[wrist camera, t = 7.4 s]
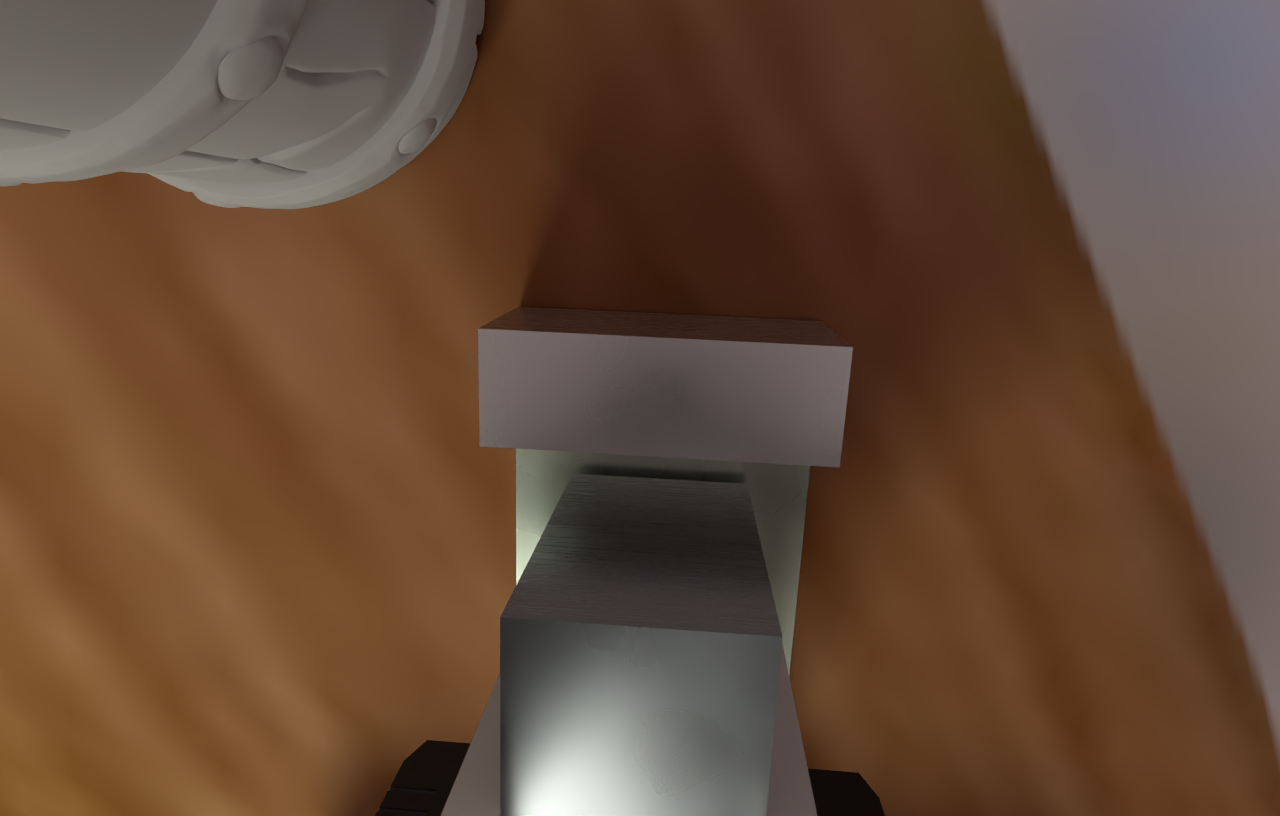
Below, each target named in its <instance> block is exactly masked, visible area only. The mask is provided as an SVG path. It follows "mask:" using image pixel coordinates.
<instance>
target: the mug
mask: <svg viewBox="0 0 1280 816" xmlns="http://www.w3.org/2000/svg"><path fill="white" fill-rule="evenodd" d="M484 15H485V0H0V186H15V185H20V184H22V183H23V182H25V183H44V182H52V181H75V180H81V179H87V178H92V177H96V176H101V175H106V174H111V173H115V172H119V171H124V172H134V173H148V174H150V175H152V176H154V177H156V178H158V179H160V180H162V181H164V182H166V183H168V184H170V185H172V186H174V187H177V188H179V189H181V190H183V191H186V192H193V193H194V195H195V196H196V197H197V198H198V199H199V200H201V201H203V202H205V203H208V204H211V205H216V206H221V207H226V208H239V207H242V206H245V207H255V208H266V209H299V208H307V207H312V206H317V205H322V204H327V203H331V202H335V201H338V200H342V199H345V198H348V197H350V196H353V195H355V194H358V193H360V192H362V191H364V190H366V189H369V188H371V187H372V186H374V185H376V184H378V183H380V182H381V181H383V180H385V179H386V178H388V177H389V176H391V175H392V174H394V173H395V172H396V171H398V170H399V169H400V168H401V167H403V166H405V165H406V164H408V163H409V162H410V161H411V160H413V159H414V158H415V157H416V156H417V155H418V154H420V153H421V152H422V151H423V150H424V149H425V148H426V147H427V146H428V145H429V144H430V143H431V142H432V141H433V140H434V139H435V138H436V137H437V136H438V134H439V133H440V132H441V131H442V129H443V128H444V127H445V126H446V124H447V123H448V122H449V120H450V119H451V118H452V116H453V115H454V113H455V111H456V110H457V108H458V106H459V105H460V103H461V101H462V99H463V97H464V95H465V93H466V91H467V88H468V85H469V83H470V80H471V77H472V73H473V70H474V67H475V64H476V60H477V47H476V44H475V42H476V37H477V35H480V34H481V32H482V29H483V25H484Z"/></svg>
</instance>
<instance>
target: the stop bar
mask: <svg viewBox="0 0 1280 816" xmlns="http://www.w3.org/2000/svg"><path fill="white" fill-rule="evenodd" d="M781 649H782V632H781V628H780V624H779V619H778V615H777V611H776V607H775V602H774V598H773V594H772V589H771V585H770V581H769V577H768V572H767V568H766V564H765V559H764V555H763V551H762V546H761V542H760V538H759V534H758V529H757V525H756V521H755V516H754V512H753V508H752V504H751V499H750V495H749V491H748V486H747V484H742V483H725V482H708V481H691V480H674V479H657V478H640V477H623V476H606V475H589V474H572V476H571V478H570V480H569V482H568V484H567V486H566V488H565V490H564V492H563V494H562V496H561V498H560V500H559V502H558V504H557V506H556V508H555V510H554V512H553V514H552V516H551V518H550V520H549V522H548V524H547V526H546V528H545V530H544V532H543V534H542V536H541V538H540V540H539V542H538V543H537V545H536V547H535V549H534V551H533V553H532V555H531V557H530V559H529V561H528V563H527V565H526V567H525V569H524V571H523V573H522V575H521V577H520V579H519V581H518V583H517V585H516V587H515V589H514V591H513V593H512V595H511V597H510V599H509V601H508V603H507V605H506V607H505V609H504V611H503V613H502V615H501V617H500V809H501V816H767V805H768V793H769V782H770V771H771V760H772V749H773V738H774V727H775V715H776V704H777V693H778V682H779V671H780V660H781Z"/></svg>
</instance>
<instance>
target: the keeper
mask: <svg viewBox="0 0 1280 816" xmlns="http://www.w3.org/2000/svg"><path fill="white" fill-rule="evenodd" d="M852 352H853V347H852V346H851V345H850V344H849V343H848V342H846V341H845V340H844V339H843V338H842V337H840V336H839V335H838V334H837V333H836V332H835V331H833V330H832V329H831V328H830V327H829V326H827V325H826V324H825V323H824V322H823V321H813V320H792V319H771V318H750V317H729V316H708V315H687V314H666V313H645V312H624V311H603V310H582V309H562V308H541V307H520V306H519V307H517V308H515V309H514V310H512V311H510V312H508V313H506V314H504V315H502V316H501V317H499V318H497V319H495V320H493V321H491V322H489V323H488V324H486V325H484V326H482V327H480V328H478V357H479V425H480V446H482V447H499V448H516V585H517V583H518V581H519V579H520V577H521V575H522V573H523V571H524V569H525V567H526V565H527V563H528V561H529V559H530V557H531V555H532V553H533V551H534V549H535V547H536V545H537V543H538V542H539V540H540V538H541V536H542V534H543V532H544V530H545V528H546V526H547V524H548V522H549V520H550V518H551V516H552V514H553V512H554V510H555V508H556V506H557V504H558V502H559V500H560V498H561V496H562V494H563V492H564V490H565V488H566V486H567V484H568V482H569V480H570V478H571V476H572V474H589V475H606V476H623V477H640V478H657V479H674V480H691V481H708V482H725V483H742V484H747V486H748V491H749V495H750V499H751V504H752V508H753V512H754V516H755V521H756V525H757V529H758V534H759V538H760V542H761V546H762V551H763V555H764V559H765V564H766V568H767V572H768V577H769V581H770V585H771V589H772V594H773V598H774V602H775V607H776V611H777V615H778V619H779V624H780V628H781V632H782V644H783V649H784V654H785V659H786V664H787V668H788V673H790V663H791V653H792V643H793V633H794V623H795V613H796V603H797V593H798V583H799V573H800V563H801V553H802V543H803V533H804V523H805V513H806V503H807V494H808V484H809V474H810V466H824V467H840V461H841V452H842V443H843V433H844V424H845V415H846V406H847V397H848V388H849V379H850V370H851V361H852Z"/></svg>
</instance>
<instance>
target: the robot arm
mask: <svg viewBox="0 0 1280 816" xmlns="http://www.w3.org/2000/svg"><path fill="white" fill-rule="evenodd" d="M375 816H501V809H500V674H499V677H498V679H497V682H496V684H495V686H494V689H493V691H492V694H491V696H490V698H489V701H488V703H487V706H486V708H485V710H484V713H483V715H482V718H481V720H480V722H479V725H478V727H477V730H476V732H475V734H474V737H473V739H472V742H471V744H468V743H456V742H443V741H431V740H427V741H426V742H425V743H424V744H423V745H421V746H420V747H419V748H418V749H417V750H416V751H415V752H413V753H412V754H411V755H410V756H409V757H408V758H407V759H405V760H404V762H403V764H402V765H401V767H400V769H399V771H398V773H397V775H396V777H395V779H394V781H393V783H392V785H391V789H390V791H388V792H387V794H386V796H385V798H384V800H383V802H382V804H381V806H380V810H379V812H377V813H376V815H375ZM767 816H885V815H884V812H883V809H882V806H881V802H880V799H879V797H878V796H877V795H876V794H875V792H874V791H873V790H872V789H871V787H870V786H869V785H868V784H867V783H866V781H865V780H864V779H863V778H862V776H861V775H860V774H859V773H854V772H842V771H829V770H817V769H808V767H807V762H806V757H805V752H804V748H803V743H802V738H801V733H800V728H799V723H798V718H797V713H796V708H795V703H794V698H793V693H792V688H791V683H790V678H789V673H788V668H787V664H786V659H785V654H784V649H783V644H782V649H781V660H780V671H779V682H778V693H777V704H776V715H775V727H774V738H773V749H772V760H771V771H770V782H769V793H768V805H767Z"/></svg>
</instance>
